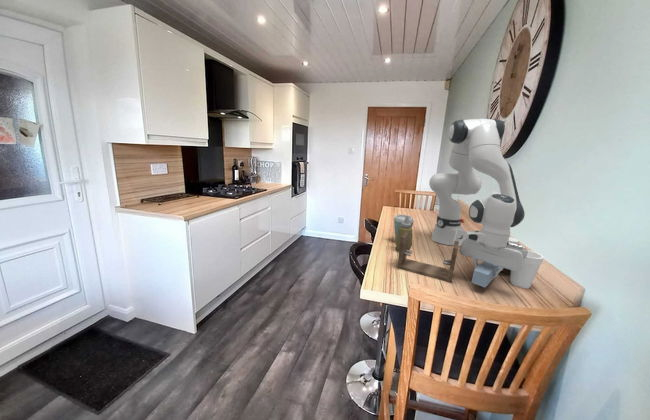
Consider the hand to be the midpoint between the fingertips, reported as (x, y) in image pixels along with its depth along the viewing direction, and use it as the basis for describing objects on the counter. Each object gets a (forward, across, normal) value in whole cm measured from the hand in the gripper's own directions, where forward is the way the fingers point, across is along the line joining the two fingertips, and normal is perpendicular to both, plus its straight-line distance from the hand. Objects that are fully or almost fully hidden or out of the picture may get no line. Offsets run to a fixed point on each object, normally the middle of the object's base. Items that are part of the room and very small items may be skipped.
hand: (485, 272), depth 95 cm
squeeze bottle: (+6, +38, -6) cm, 39 cm away
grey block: (+2, 0, 0) cm, 2 cm away
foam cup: (+5, -9, -13) cm, 17 cm away
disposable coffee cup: (+6, +45, -16) cm, 48 cm away
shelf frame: (+5, +20, +7) cm, 22 cm away
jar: (+6, -1, -22) cm, 23 cm away
